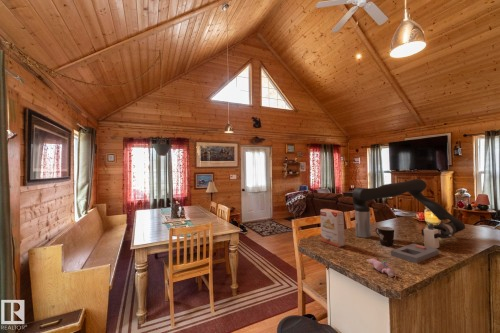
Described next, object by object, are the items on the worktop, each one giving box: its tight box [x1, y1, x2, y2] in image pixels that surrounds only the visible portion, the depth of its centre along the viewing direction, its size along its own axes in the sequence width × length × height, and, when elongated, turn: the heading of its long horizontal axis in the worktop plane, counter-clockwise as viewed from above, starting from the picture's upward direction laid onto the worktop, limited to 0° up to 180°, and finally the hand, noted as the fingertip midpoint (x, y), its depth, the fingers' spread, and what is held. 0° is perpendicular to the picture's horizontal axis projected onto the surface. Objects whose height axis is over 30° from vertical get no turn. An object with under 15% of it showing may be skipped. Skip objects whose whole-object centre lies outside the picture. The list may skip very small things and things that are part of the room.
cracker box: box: [319, 208, 346, 248], centre depth 139 cm, size 14×6×21 cm, turn 27°
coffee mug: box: [374, 226, 395, 248], centre depth 134 cm, size 12×9×10 cm
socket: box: [390, 243, 440, 264], centre depth 116 cm, size 22×12×3 cm, turn 118°
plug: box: [423, 223, 440, 249], centre depth 126 cm, size 5×5×13 cm
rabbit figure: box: [367, 258, 401, 280], centre depth 98 cm, size 6×6×15 cm
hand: (428, 235), depth 125 cm, fingers closed on plug, 5 cm apart
